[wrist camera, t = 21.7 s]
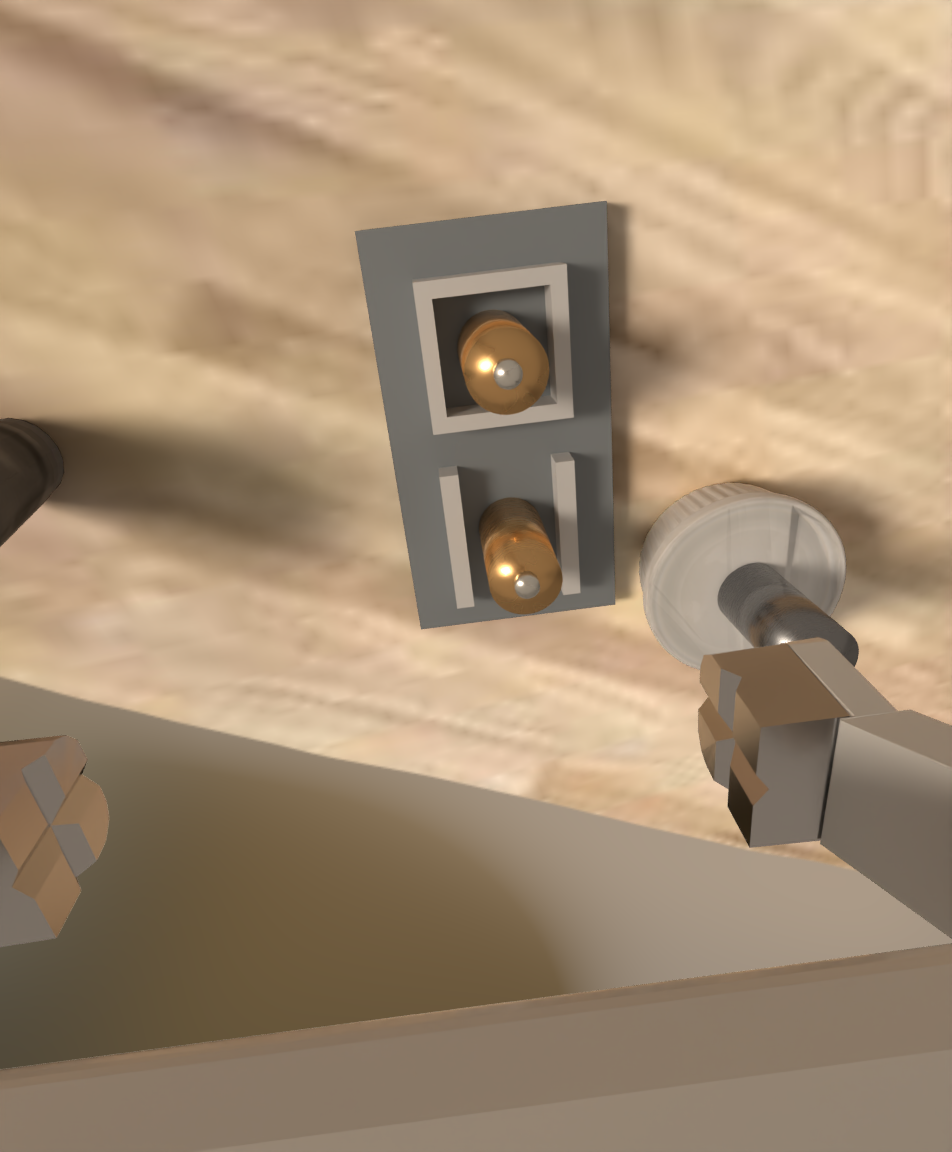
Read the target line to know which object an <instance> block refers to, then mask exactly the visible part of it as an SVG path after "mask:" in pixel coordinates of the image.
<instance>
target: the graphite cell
mask: <svg viewBox="0 0 952 1152" xmlns="http://www.w3.org/2000/svg"><path fill="white" fill-rule="evenodd" d="M718 606H719V609H720V611H721V612H722V613H723V614H724V615H725V617H726V618H727V619H728V620H729V621H730V622H731V623H732V624H733V625H734V626H735V628H736V629H737V630H738V631H739V632H740V633H741V634H742V635H743V636H744V637H745V638H746V640H747V641H748V642H749V643H750V644H751V645H752V646H753V647H754V648H757V647H764V646H771V645H779V644H781V643H785V642H792V641H798V640H804V639H811V638H817V637H820V638H823V639H825V640H828V641H829V642H830V643H831V644H832V645H833V646H834V647H835V648H836V649H837V650H838V651H839V652H840V653H841V654H842V655H843V656H844V657H845V658H846V659H847V660H848V661H849V662H850V663H851V664H852V665H853V666H854V667H855V665H856V662H857V659H858V654H859V649H858V644H857V642H856V640H855V638H854V637H853V636H852V635H851V634H850V633H848V632H847V631H846V630H845V629H844V628H843V627H841V626H840V625H839V624H838V623H837V622H835V621H834V620H833V619H832V618H831V617H830V616H828V615H827V614H826V613H825V612H824V611H822V610H821V609H820V608H819V607H818V606H817V605H815V604H814V603H813V602H812V601H811V600H809V599H808V598H807V597H806V596H805V595H804V594H802V593H801V592H800V591H799V590H798V589H796V588H795V587H794V586H793V585H792V584H791V583H789V582H788V581H787V580H786V579H785V578H783V577H782V576H781V575H780V574H779V573H778V572H776V571H775V570H774V569H773V568H772V567H770V566H768V565H766V564H762V563H751V564H747V565H744V566H741V567H739V568H737V569H736V570H734V571H733V572H732V573H731V574H729V575H728V576H727V577H726V579H725V580H724V581H723V583H722V585H721V587H720V589H719V592H718Z"/></svg>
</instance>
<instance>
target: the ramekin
mask: <svg viewBox="0 0 952 1152" xmlns="http://www.w3.org/2000/svg"><path fill="white" fill-rule="evenodd" d="M751 563H762V564H766V565H768V566H770V567H772V568H773V569H774V570H775V571H776V572H778V573H779V574H780V575H781V576H782V577H783V578H785V579H786V580H787V581H788V582H789V583H791V584H792V585H793V586H794V587H795V588H796V589H798V590H799V591H800V592H801V593H802V594H804V595H805V596H806V597H807V598H808V599H809V600H811V601H812V602H813V603H814V604H815V605H817V606H818V607H819V608H820V609H821V610H822V611H824V612H825V613H826V614H827V615H828V616H831V614H832V613H833V611H834V609H835V607H836V605H837V603H838V601H839V599H840V596H841V593H842V590H843V586H844V583H845V577H846V555H845V550H844V547H843V544H842V541H841V538H840V536H839V534H838V533H837V531H836V529H835V528H834V526H833V525H832V524H831V522H830V521H829V520H828V519H827V518H826V517H825V516H824V515H822V514H821V513H820V512H819V511H818V510H816V509H815V508H813V507H812V506H810V505H809V504H807V503H805V502H803V501H801V500H799V499H797V498H794V497H791V496H788V495H784V494H779V493H774V492H771V491H768V490H766V489H763V488H760V487H756V486H753V485H750V484H742V483H724V484H715V485H712V486H706V487H703V488H701V489H698V490H694V491H692V492H691V493H689V494H687V495H685V496H683V497H682V498H680V499H679V500H677V501H676V502H674V503H673V504H672V505H671V506H670V507H668V508H667V509H666V510H665V511H664V512H663V513H662V514H661V515H660V516H659V517H658V519H657V520H656V522H655V523H654V524H653V525H652V527H651V529H650V531H649V532H648V534H647V536H646V539H645V541H644V543H643V548H642V551H641V554H640V562H639V567H640V568H639V576H640V583H641V587H642V591H643V606H644V611H645V615H646V618H647V621H648V624H649V626H650V628H651V630H652V632H653V634H654V636H655V637H656V639H657V640H658V642H659V643H660V644H661V646H662V647H663V648H664V649H665V650H666V651H667V652H668V653H669V654H671V655H672V656H673V657H674V658H676V659H677V660H679V661H680V662H682V663H684V664H686V665H688V666H690V667H693V668H696V669H699V670H700V666H701V662H702V659H703V656H704V655H707V654H714V653H721V652H729V651H736V650H743V649H750V648H754V647H753V646H752V645H751V644H750V643H749V642H748V641H747V640H746V638H745V637H744V636H743V635H742V634H741V633H740V632H739V631H738V630H737V629H736V628H735V626H734V625H733V624H732V623H731V622H730V621H729V620H728V619H727V618H726V617H725V615H724V614H723V613H722V612H721V611H720V609H719V606H718V592H719V589H720V587H721V585H722V583H723V581H724V580H725V579H726V577H727V576H728V575H729V574H731V573H732V572H733V571H734V570H736V569H737V568H739V567H741V566H744V565H747V564H751Z"/></svg>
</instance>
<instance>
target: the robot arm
mask: <svg viewBox="0 0 952 1152" xmlns="http://www.w3.org/2000/svg"><path fill="white" fill-rule="evenodd" d="M700 683H701V685H702V687H703V688H704V690H705V692H706V693H707V695H708V698H707V699H706V701H705V702H704V703H703V704H702V706H701V707H700V708H699V709H698V733H699V739H700V745H701V751H702V754H703V757H704V760H705V762H706V765H707V768H708V770H709V772H710V774H711V776H712V778H713V780H714V781H716V782H717V783H719V784H721V785H722V786H724V787H726V788H727V789H729V791H728V808H729V810H730V812H731V814H732V816H733V818H734V819H735V821H736V823H737V825H738V827H739V829H740V831H741V832H742V834H743V836H744V838H745V840H746V842H747V844H748V846H749V847H750V848H751V847H761V846H771V845H780V844H790V843H800V842H810V841H819V840H821V842H820V844H821V845H823V846H824V847H825V848H827V849H828V850H830V851H831V852H832V853H834V854H835V855H836V856H838V857H839V858H841V859H842V860H843V861H845V862H846V863H848V864H849V865H850V866H852V867H853V868H854V869H856V870H857V871H859V872H860V873H861V874H863V875H864V876H866V877H867V878H868V879H870V880H871V881H872V882H874V883H875V884H877V885H878V886H880V887H881V888H882V889H884V890H885V891H886V892H888V893H889V894H890V895H892V896H893V897H895V898H896V899H897V900H899V901H900V902H902V903H903V904H904V905H906V906H907V907H908V908H910V909H911V910H913V911H914V912H915V913H917V914H918V915H920V916H921V917H923V918H924V919H925V920H927V921H928V922H929V923H931V924H932V925H933V926H935V927H936V928H938V929H939V930H940V931H942V932H943V933H944V934H946V935H947V936H949V937H950V938H952V726H951V725H949V724H946V723H943V722H941V721H938V720H936V719H933V718H931V717H928V716H926V715H923V714H920V713H918V712H915V711H913V710H904V711H897V710H896V709H895V708H894V707H893V706H892V705H891V704H890V703H889V702H888V701H887V700H886V699H885V698H884V697H883V696H882V694H881V693H880V692H879V691H878V690H877V689H876V688H875V687H874V686H873V685H872V684H871V683H870V682H869V681H868V680H867V679H866V678H865V677H864V676H863V675H862V674H861V673H860V672H859V671H858V670H857V669H856V668H855V667H854V666H853V665H852V664H851V663H850V662H849V661H848V660H847V659H846V658H845V657H844V656H843V655H842V654H841V653H840V652H839V651H838V650H837V649H836V648H835V647H834V646H833V645H832V644H831V643H830V642H829V641H828V640H825V639H823V638H820V637H817V638H811V639H804V640H798V641H792V642H785V643H781V644H779V645H771V646H764V647H757V648H750V649H743V650H736V651H729V652H721V653H714V654H707V655H704V656H703V659H702V662H701V666H700ZM87 761H88V759H87V757H86V755H85V753H84V751H83V749H82V747H81V745H80V743H79V742H78V740H77V739H74V738H72V737H69V736H67V735H63V736H53V737H44V738H34V739H25V740H15V741H6V742H0V947H4V946H10V945H16V944H23V943H29V942H35V941H42V940H48V939H54V938H57V936H58V934H59V932H60V930H61V928H62V927H63V925H64V923H65V921H66V919H67V917H68V915H69V913H70V911H71V909H72V907H73V905H74V903H75V901H76V899H77V898H78V896H79V894H80V892H81V888H80V885H79V883H78V880H77V876H78V875H80V874H81V873H82V872H83V871H85V870H86V869H87V868H88V867H89V866H91V865H92V864H93V863H94V862H95V861H97V859H98V857H99V855H100V853H101V851H102V848H103V846H104V844H105V842H106V838H107V831H108V824H109V814H108V808H107V801H106V799H105V797H104V795H103V792H102V790H101V787H100V786H99V785H97V784H96V783H94V782H93V781H91V780H89V779H88V778H87V777H85V776H83V775H82V773H83V770H84V768H85V766H86V763H87ZM0 1152H952V943H951V944H943V945H936V946H928V947H921V948H914V949H906V950H898V951H891V952H884V953H876V954H869V955H861V956H854V957H846V958H838V959H830V960H823V961H815V962H808V963H800V964H792V965H785V966H778V967H770V968H763V969H755V970H748V971H740V972H732V973H725V974H717V975H710V976H702V977H694V978H687V979H679V980H672V981H665V982H657V983H649V984H642V985H634V986H626V987H619V988H611V989H605V990H596V991H589V992H581V993H573V994H566V995H558V996H551V997H543V998H536V999H528V1000H521V1001H513V1002H505V1003H498V1004H491V1005H483V1006H475V1007H468V1008H461V1009H453V1010H446V1011H438V1012H430V1013H423V1014H415V1015H408V1016H400V1017H393V1018H386V1019H377V1020H370V1021H362V1022H355V1023H347V1024H340V1025H332V1026H325V1027H317V1028H310V1029H303V1030H294V1031H288V1032H279V1033H272V1034H264V1035H257V1036H249V1037H242V1038H234V1039H227V1040H219V1041H212V1042H204V1043H197V1044H189V1045H182V1046H174V1047H167V1048H160V1049H152V1050H144V1051H136V1052H129V1053H121V1054H114V1055H106V1056H99V1057H91V1058H85V1059H76V1060H68V1061H61V1062H53V1063H46V1064H38V1065H31V1066H23V1067H16V1068H8V1069H1V1070H0Z"/></svg>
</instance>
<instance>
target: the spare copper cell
mask: <svg viewBox="0 0 952 1152" xmlns="http://www.w3.org/2000/svg"><path fill="white" fill-rule="evenodd" d="M479 534H480V539H481V545H482V550H483V556H484V561H485V567H486V572H487V577H488V583H489V588H490V592H491V595H492V597H493V599H494V600H495V602H496V603H497V604H498V605H499V606H500V607H502V608H503V609H505V610H506V611H509V612H511V613H515V614H532V613H536V612H539V611H541V610H543V609H545V608H546V607H548V606H549V605H550V604H551V603H553V602H554V600H555V599H556V598H557V596H558V595H559V593H560V591H561V588H562V583H563V576H562V571H561V568H560V565H559V563H558V560H557V558H556V555H555V553H554V551H553V548H552V546H551V543H550V541H549V538H548V536H547V533H546V531H545V528H544V526H543V523H542V521H541V518H540V516H539V514H538V512H537V510H536V509H535V507H534V506H533V505H532V504H530V503H529V502H527V501H525V500H523V499H520V498H515V497H508V498H503V499H500V500H497V501H495V502H494V503H492V504H491V505H489V506H488V507H487V508H486V509H485V511H484V512H483V514H482V516H481V518H480V522H479Z"/></svg>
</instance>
